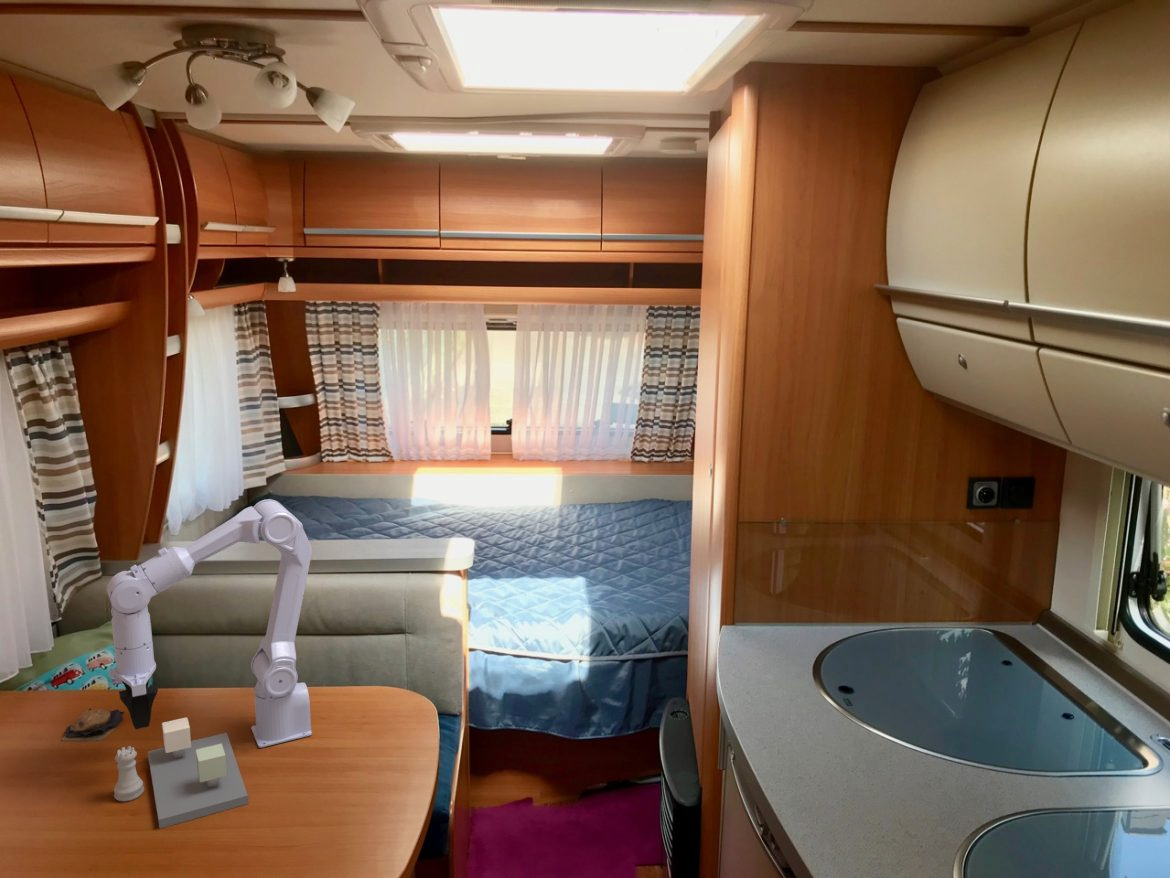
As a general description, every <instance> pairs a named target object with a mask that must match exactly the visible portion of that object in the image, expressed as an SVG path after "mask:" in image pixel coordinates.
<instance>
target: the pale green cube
mask: <svg viewBox="0 0 1170 878" xmlns="http://www.w3.org/2000/svg"><path fill="white" fill-rule="evenodd" d="M196 762H197V772H198V776H199V780H200V782H204V781H208V780H212V779H216V778H219V777H223V776H227V773H226V758H225V752H224V749H223V746H222V744H217V745H213V746H209V747H205V748H201V749H197V750H196Z"/></svg>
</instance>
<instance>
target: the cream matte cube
mask: <svg viewBox="0 0 1170 878" xmlns="http://www.w3.org/2000/svg"><path fill="white" fill-rule="evenodd" d="M161 727H162V728H161V729H162V737H163V739H162V740H163V746H164V747H165V752H166V753H169V752H173V751H177V750H181V749H185V748H190V747H191V741H192V739H191V727H190V723H189V718H188V717H182V718H177V719H173V720H169V721H164V722H161ZM164 747H163V748H164Z"/></svg>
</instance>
